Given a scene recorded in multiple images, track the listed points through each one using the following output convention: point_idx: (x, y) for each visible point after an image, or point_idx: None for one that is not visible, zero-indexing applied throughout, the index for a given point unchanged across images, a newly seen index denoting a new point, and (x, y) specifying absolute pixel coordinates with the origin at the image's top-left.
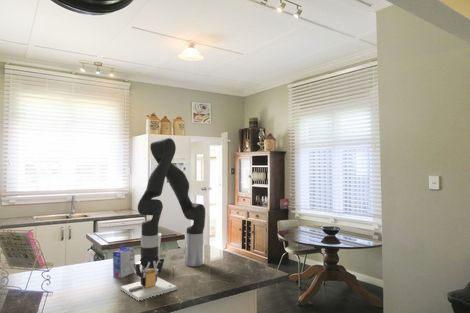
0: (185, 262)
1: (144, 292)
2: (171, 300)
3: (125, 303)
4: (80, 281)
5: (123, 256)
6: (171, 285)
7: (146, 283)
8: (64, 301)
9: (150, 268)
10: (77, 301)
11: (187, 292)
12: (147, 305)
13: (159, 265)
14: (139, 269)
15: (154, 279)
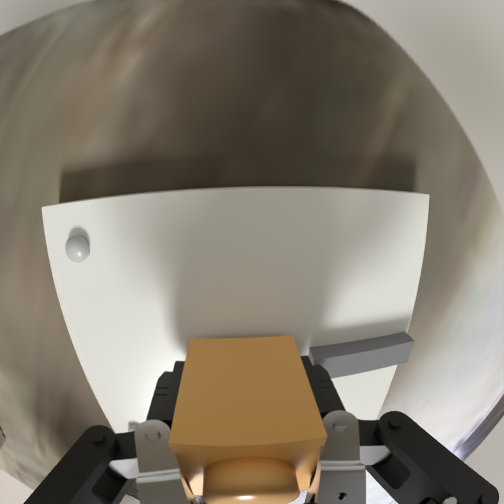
0: (3, 439)
1: (348, 261)
2: (207, 27)
3: (461, 224)
4: (378, 488)
5: None
6: (64, 252)
7: (299, 358)
8: (499, 376)
9: (126, 495)
10: (495, 362)
11: (36, 105)
12: (394, 84)
13: (88, 500)
14: (442, 476)
15: (195, 378)
